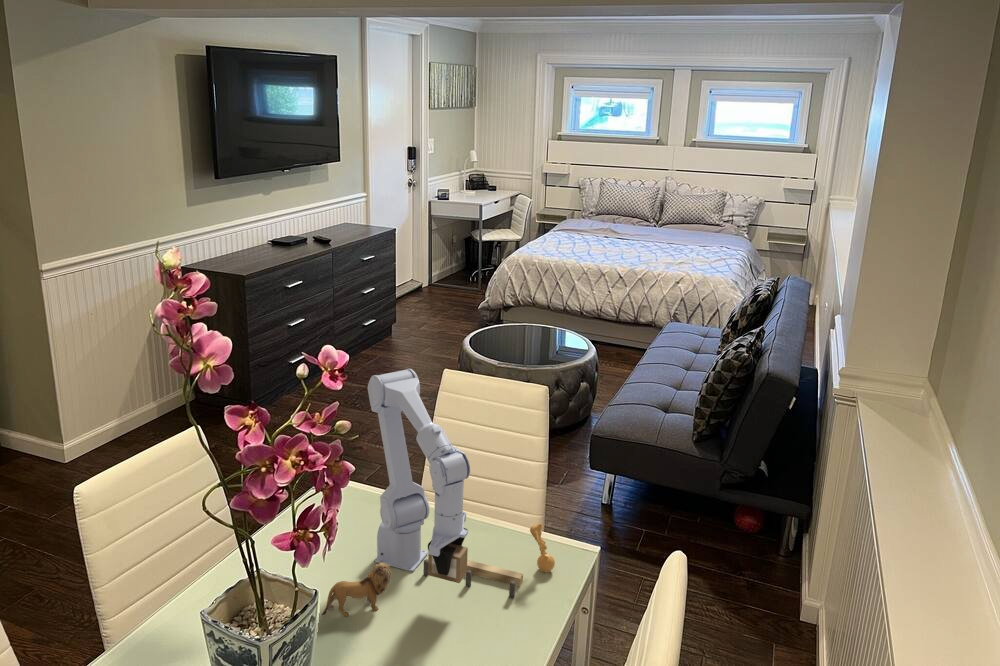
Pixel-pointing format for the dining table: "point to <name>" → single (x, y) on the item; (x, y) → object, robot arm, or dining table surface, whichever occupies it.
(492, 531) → the dining table surface
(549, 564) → the figurine
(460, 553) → the wooden box
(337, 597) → the lion figurine
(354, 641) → the dining table surface
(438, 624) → the dining table surface
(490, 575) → the ledge
